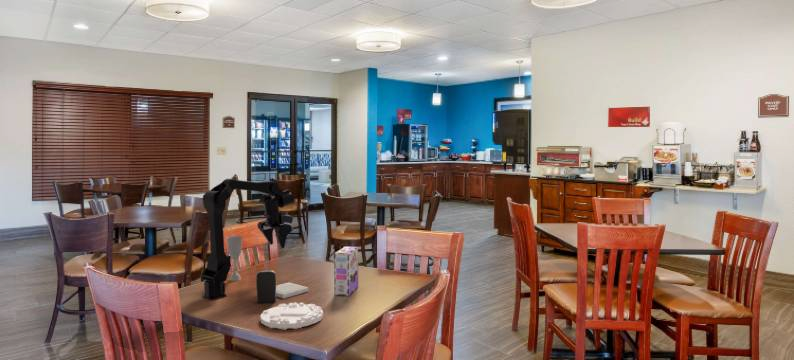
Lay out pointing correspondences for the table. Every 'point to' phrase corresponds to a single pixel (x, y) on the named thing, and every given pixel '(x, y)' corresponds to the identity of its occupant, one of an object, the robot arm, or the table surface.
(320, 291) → the table surface
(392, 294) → the table surface
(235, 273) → the chalice
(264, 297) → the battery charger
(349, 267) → the candy box
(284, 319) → the white round plaque
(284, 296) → the tray
